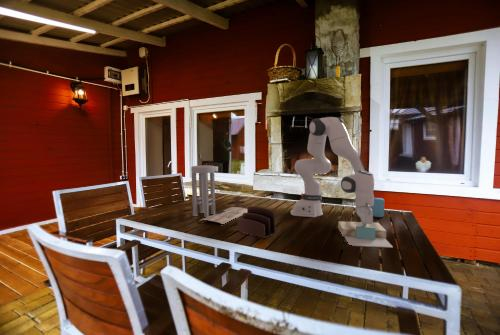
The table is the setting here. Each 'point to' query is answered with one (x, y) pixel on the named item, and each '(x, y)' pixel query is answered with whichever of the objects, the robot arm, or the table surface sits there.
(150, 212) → the table surface
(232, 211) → the grey flat ribbed slab
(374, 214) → the data package
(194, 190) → the stool
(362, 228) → the teal flat block
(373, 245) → the mat
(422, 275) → the table surface
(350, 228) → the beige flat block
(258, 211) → the letter holder
